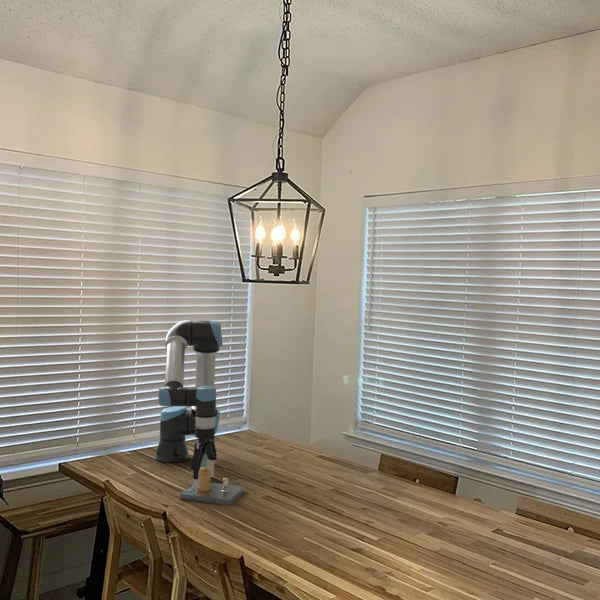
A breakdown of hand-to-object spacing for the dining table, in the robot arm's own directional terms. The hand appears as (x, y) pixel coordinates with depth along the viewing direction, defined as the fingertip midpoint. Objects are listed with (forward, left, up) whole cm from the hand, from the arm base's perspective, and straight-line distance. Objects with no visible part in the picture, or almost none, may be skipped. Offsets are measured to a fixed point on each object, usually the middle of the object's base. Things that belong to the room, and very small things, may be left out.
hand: (203, 481), depth 241 cm
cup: (-20, -8, -5) cm, 22 cm away
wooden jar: (0, 0, -3) cm, 3 cm away
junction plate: (0, +4, -5) cm, 6 cm away
